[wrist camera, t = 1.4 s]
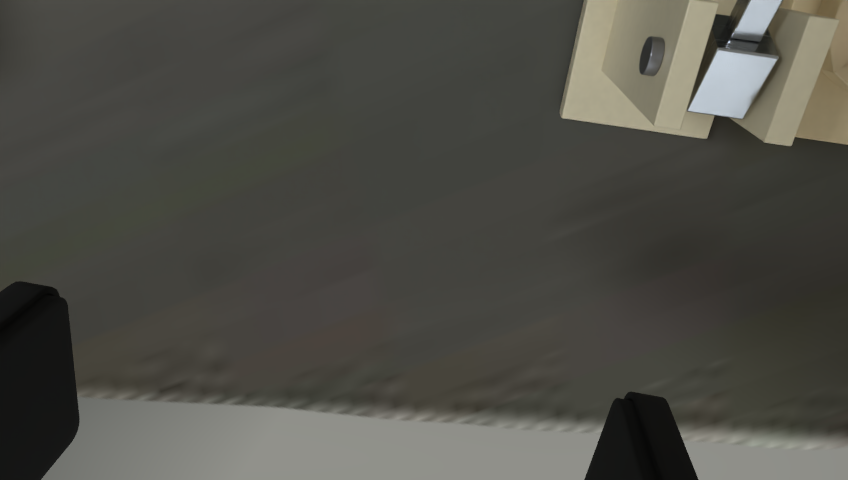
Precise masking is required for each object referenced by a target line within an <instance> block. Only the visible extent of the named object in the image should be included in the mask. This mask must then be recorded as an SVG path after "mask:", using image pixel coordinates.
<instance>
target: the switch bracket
mask: <svg viewBox="0 0 848 480" xmlns="http://www.w3.org/2000/svg"><path fill="white" fill-rule="evenodd" d="M736 2H737V0H584V2H583V7H582V11H581V16H580V20H579V25H578V29H577V34H576V39H575V43H574V48H573V52H572V57H571V61H570V66H569V71H568V75H567V80H566V84H565V89H564V93H563V98H562V103H561V107H560V115H561V117H562V118H564V119H571V120H578V121H585V122H592V123H599V124H606V125H613V126H619V127H626V128H633V129H640V130H647V131H654V132H661V133H668V134H674V135H681V136H688V137H695V138H702V139H707V138H708V134H709V131H710V128H711V125H712V122H713V119H714V115H707V114H700V113H693V112H688V111H686V110H687V107H688V104H689V101H690V97H691V94H692V91H693V87H694V84H695V81H696V78H697V74H698V71H699V68H700V64H701V61H702V58H703V55H704V51H705V48H706V45H707V41H708V38H709V35H710V32H711V28H712V25H713V22H714V18H715V15H716V14H720V15H728V16H730V14H731V12H732V10H733V8H734V6H735V4H736ZM838 23H839V19H835V18H830V17H825V16H820V15H816V14H811V13H806V12H801V11H796V10H791V9H786V8H781V7H779V9H778V11H777V13H776V15H775V17H774V18H773V20H772V22H771V24H770V26H769V27H768V29H769V31H770V34H771V36H772V39H773V41H774V44H775V47H776V49H777V52H778V54H779V59H778V61H777V63H776V65H775V66H774V68H773V70H772V71H771V73H770V75H769V76H768V78H767V80H766V82H765V83H764V85H763V87H762V88H761V90H760V92H759V93H758V95H757V97H756V99H755V100H754V102H753V104H752V105H751V107H750V109H749V110H748V112H747V114H746V115H745V117H744V119H735V118H730V119H732V120H733V121H735V122H736V123H738V124H739V125H740V126H742V127H743V128H745V129H746V130H748V131H749V132H750V133H752V134H753V135H755V136H756V137H758V138H759V139H760V140H762V141H763V142H765V143H771V144H778V145H785V146H791V145H792V143H793V140H794V138H795V135H796V133H797V130H798V127H799V125H800V122H801V120H802V117H803V114H804V112H805V109H806V107H807V104H808V101H809V99H810V96H811V94H812V91H813V88H814V86H815V83H816V81H817V78H818V75H819V73H820V70H821V68H822V65H823V62H824V60H825V57H826V55H827V52H828V49H829V47H830V44H831V42H832V39H833V36H834V34H835V31H836V29H837V26H838Z"/></svg>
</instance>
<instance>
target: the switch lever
mask: <svg viewBox="0 0 848 480" xmlns="http://www.w3.org/2000/svg"><path fill="white" fill-rule="evenodd" d="M782 2H783V0H737V2H736V4H735V6H734V8H733V10H732V12H731V14H730V16H728V15H720V14H716V15H715V18H714V22H713V25H712V28H711V32H710V35H709V38H708V41H707V45H706V48H705V51H704V55H703V58H702V61H701V64H700V68H699V71H698V74H697V78H696V81H695V84H694V87H693V91H692V94H691V97H690V101H689V104H688V107H687V110H686V111H688V112H693V113H700V114H707V115H714V116H721V117H728V118H735V119H744V117H745V115H746V114H747V112H748V110H749V109H750V107H751V105H752V104H753V102H754V100H755V99H756V97H757V95H758V93H759V92H760V90H761V88H762V87H763V85H764V83H765V82H766V80H767V78H768V76H769V75H770V73H771V71H772V70H773V68H774V66H775V65H776V63H777V61H778V59H779V54H778V52H777V49H776V47H775V44H774V41H773V39H772V36H771V34H770V31H769V29H768V27H769V26H770V24H771V22H772V20H773V18H774V17H775V15H776V13H777V11H778V9H779V7H780V6H781V4H782Z"/></svg>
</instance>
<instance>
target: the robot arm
mask: <svg viewBox="0 0 848 480" xmlns="http://www.w3.org/2000/svg"><path fill="white" fill-rule="evenodd" d="M78 426H79V410H78V401H77V391H76V381H75V372H74V362H73V352H72V343H71V333H70V323H69V314H68V305H67V302H66V300H65V299H64V298H61V297H60V296H59V293H58V291H57V290H56V289H55V288H53V287H49V286H44V285H38V284H33V283H27V282H21V281H20V282H15V283H13V284H11V285H9V286H8V287H7V288H5V289H4V290H2V291H1V292H0V480H41V479H42V478H43V476H44V475H45V474H46V472H47V471H48V470H49V469H50V468H51V467H52V465H53V464H54V463H55V462H56V460H57V459H58V458H59V457H60V456H61V454H62V453H63V452H64V451H65V449H66V448H67V447H68V446H69V445H70V443H71V442H72V441H73V439H74V437H75V435H76V433H77V430H78ZM585 480H698V478H697V476H696V473H695V470H694V468H693V465H692V463H691V460H690V458H689V455H688V453H687V450H686V447H685V445H684V442H683V440H682V437H681V435H680V432H679V430H678V427H677V425H676V422H675V420H674V417H673V415H672V412H671V410H670V407H669V405H668V403H667V401H666V399H664V398H663V397H658V396H652V395H647V394H641V393H635V392H628V393H627V395H626V396H625V398H624V399H620V398H616V399H615V400H614V401H613V403H612V406H611V408H610V411H609V414H608V417H607V419H606V422H605V425H604V428H603V430H602V433H601V436H600V439H599V441H598V444H597V447H596V450H595V452H594V455H593V458H592V461H591V463H590V466H589V469H588V472H587V474H586V477H585Z"/></svg>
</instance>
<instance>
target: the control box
mask: <svg viewBox="0 0 848 480" xmlns="http://www.w3.org/2000/svg"><path fill="white" fill-rule="evenodd" d="M780 7H781V8H786V9H791V10H796V11H801V12H806V13H811V14H816V15H820V16H825V17H830V18H835V19H839V23H838V26H837V29H836V31H835V34H834V36H833V39H832V42H831V44H830V47H829V49H828V52H827V55H826V57H825V60H824V62H823V65H822V68H821V70H820V73H819V75H818V78H817V81H816V83H815V86H814V88H813V91H812V94H811V96H810V99H809V101H808V104H807V107H806V109H805V112H804V114H803V117H802V120H801V122H800V125H799V127H798V130H797V133H796V135H795V137H798V138H805V139H812V140H819V141H826V142H832V143H839V144H846V145H848V0H783V2H782V4H781V6H780Z"/></svg>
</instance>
